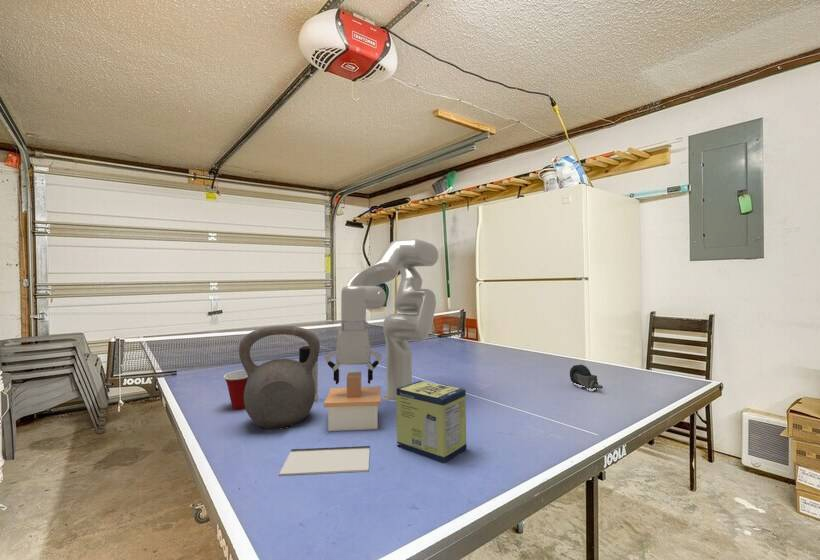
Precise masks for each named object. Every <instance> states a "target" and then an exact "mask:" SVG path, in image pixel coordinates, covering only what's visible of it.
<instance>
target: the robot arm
mask: <svg viewBox="0 0 820 560" xmlns="http://www.w3.org/2000/svg"><path fill="white" fill-rule="evenodd" d="M438 260H439V251H438V249H437V247H436V245H434V244H432V243H430V242H427V241H424V240H421V239H417V238H414V239H413V238H411V239H398V240H397V239H396V240H393V241H391V242H389V244H388V245H387V246H386V248H385V249H384V251H383V253H382V254H381V255H380V256H379V258H378V259H377V261H376V262H375V263H373V264H372V265H369V266H368V267H366V268H365V269H362V270H361V271H359V272H358V273H357V274H355V275H354V276H353V277H352V278H351V280H350V281H349V282H348V284H347V285H346V286H344V287H343V288H341V292H340V293H341V295H340V297H341V298H340V303H341V305H340V308H341V309H340V311H341V312H340V315H341V316H340V317H341V319H340V322H341V323H340V330H338V334H337V341H336V342H337V343H336V349H335V350H333V351H330V352H329V353H327V354H325V356H324V359H325V362H326V363H327V365H328V367H329V368H330V369H331V370H332V371H333V381H334V382H335V385H338V384H339V383H340V369H339V367H340V366H341V365H347V366H349V365H366V367H367V383H368V384H369V385H370V384H371V381H373V379H374V377H373V373H374V371H373V370H374V369H375V368H376V367H377V366H378V365H379V363H380V361H381V360H382V357H383V355H382V354H381V353H379V352H377V351H375V350H373V349H371V339H370V333H369V330H368V328H371V325H372V324H371V322H368V321H367V310H378V309H380V308H382V307H383V306H384V305H385V303H386V301H387V293H386V291H385V290H384V289H383V288H382V287H381V286H379V285H382V284H386V283H388V282H390V281H393V280H394V279H395V278H396V277H397V275H398V274H399V272H400V282H399V285H398V289H397V292H396V296H395V298H394V299H395V300H394V309H395V310H396V311H397V312H398V313H391V314H389V315H387V316H386V317H385V318H384V319H383V324H382V326H383V335H384V338H385V339H384V340H385V350H386V351H385V352H386V353H385V355H386V357H385V364H386V368H385V369H386V370H385V371H386V377H385V378H386V381H385V382H386V384H385V385H386V393H383V395H381V398H382V399H381V400H385V401H387V402H393V403H394V402H395V403H397V390H396V388H399V387H403V386H406V385H409V384H412V383H413V353H412V352H413V351H412V348H411V345H410V343H409V342H408V341H419V342H422V341H425V340H426V339H427V338H428V337H429V334H430V331H431V328H432V323H433V319H434V316H435V315H434V314H435V311H436V305H437V299H436V294H435V293H434V292H433V291H432V290H431V289H429V288H422V285H423V279H422V276H421V275H420V274H419V272H418V271H417V269H416V268H415V267H417V268H418V267H432V266H435V265H436V263H437V262H438ZM334 356H336V357H335V358H336V359H335V360H336V363H334V362H333V361H332V359H331V358H332V357H334ZM371 356H373V357H375V359H374V361H373V362H371Z"/></svg>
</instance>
